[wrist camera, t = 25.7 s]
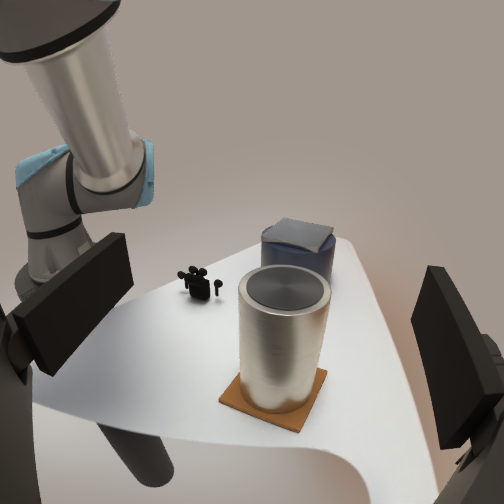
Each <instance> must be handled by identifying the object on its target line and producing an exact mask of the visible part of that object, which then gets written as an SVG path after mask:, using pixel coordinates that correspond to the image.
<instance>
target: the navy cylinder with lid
mask: <svg viewBox="0 0 504 504" xmlns="http://www.w3.org/2000/svg"><path fill="white" fill-rule="evenodd" d="M332 233H333V227H329V226H323V225H319V224H313V223H308V222H303V221H298V220H293V219H288V218H283V219H281V220H280V221H279V222H278V223H276V224H275V225H274V226H271V227H268V228H267V229H265V230H264V231H263V233H262V236H261V241H262V244H261V267H264V266H270V265H292V266H298V267H302V268H306V269H309V270H311V271H314V272H316V273H317V274H319V275H321V276H322V277H323V278H324V279H325V280H326V281H327V282H328V283H329V284H330V278H331V272H332V265H333V258H334V251H335V244H336V239H335V237H334V236H333V234H332Z"/></svg>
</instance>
